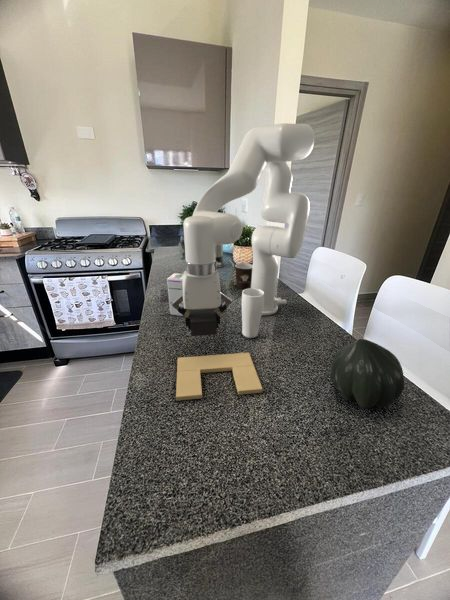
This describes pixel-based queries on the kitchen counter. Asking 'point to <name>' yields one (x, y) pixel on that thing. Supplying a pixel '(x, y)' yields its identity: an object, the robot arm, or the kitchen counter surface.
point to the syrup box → (175, 291)
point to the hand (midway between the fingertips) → (203, 326)
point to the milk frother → (219, 254)
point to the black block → (203, 322)
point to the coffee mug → (243, 275)
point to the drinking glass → (251, 311)
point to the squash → (367, 374)
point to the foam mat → (195, 365)
